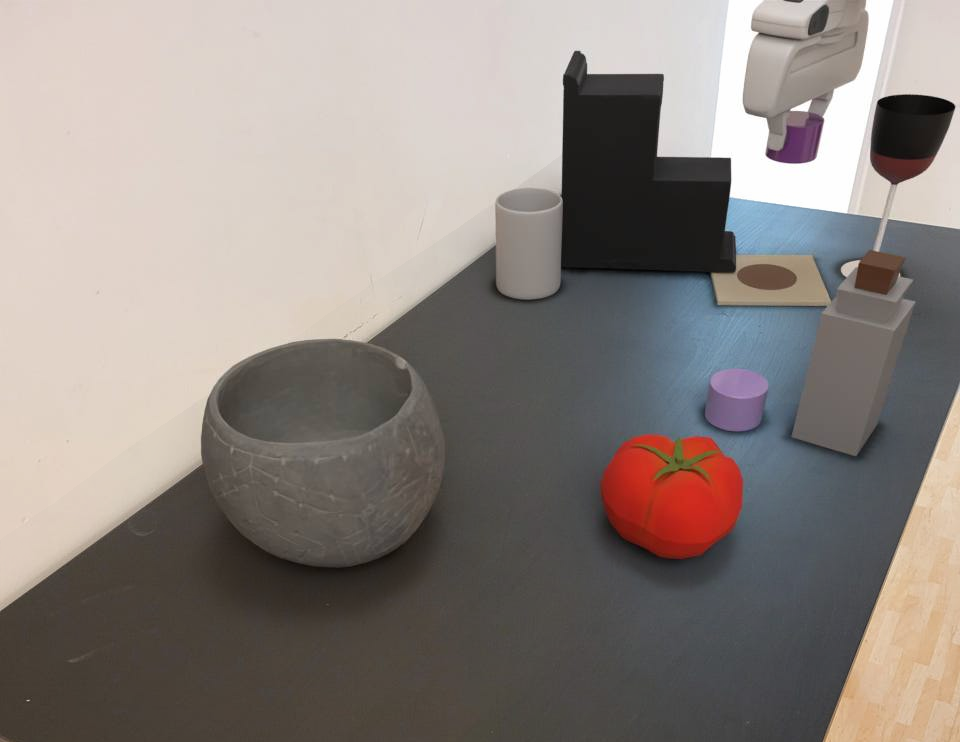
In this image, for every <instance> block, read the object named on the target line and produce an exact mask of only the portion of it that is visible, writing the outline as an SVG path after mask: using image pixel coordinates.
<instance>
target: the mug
mask: <svg viewBox="0 0 960 742" xmlns="http://www.w3.org/2000/svg"><path fill="white" fill-rule="evenodd" d="M494 206H495V207H494V208H495V209H494V211H495V214H494V215H495V217H494V218H495V219H494V220H495V286H496V288H497V290H498V292H499V293H500V294H502V295H503V296H505V297H507V298H510V299H516V300H521V301H522V300H525V301H531V300H532V301H533V300H540V299H545V298H547V297H550V296H552V295H554V294H556V293H557V292H558V291H559V289H560V287H561V281H562V267H561V245H562V215H563V200H562V198H561V195H560V194H559V193H557V192H555V191H553V190H550V189H545V188H539V187H522V188H514V189H510V190H507V191H504V192H503V193H501V194H499V195H498V196H497V197H496V199H495V203H494Z"/></svg>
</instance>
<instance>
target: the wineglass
mask: <svg viewBox="0 0 960 742" xmlns="http://www.w3.org/2000/svg"><path fill="white" fill-rule="evenodd" d="M875 105H876V106H875V109H874V115H873V120H872V127H871V136H870V147H869V148H870V149H869V161H870V165H871V167H872V168H873V170H874V171H875V172H876V173H877V174H878V175H879V176H881V177H882V178H883V179H885V180H886V181H888V182H889V183H890V187H889V190H888V194H887V197H886V201H885V205H884V209H883V212H882V216H881V220H880V224H879V228H878V230H877V235H876V239H875V242H874V245H873V249H872V250H873V251H878V252H880V250H881V246H882V244H883V243H882V242H883V239H884V235H885V232H886V228H887V224H888V221H889V217H890V213H891V210H892V206H893V204H894V203H893V202H894V198H895V195H896V191H897V188H898V185H899V184H900V183H903V182H905V181H909V180H912V179H914V178H917V177H918V176H920V175H922V174H923V173H924V172H926V171H927V170H928V169H929V167H931V165H932V164H933V162H934V160H935V159H936V157H937V155H938V153H939V151H940V149H941V147H942V145H943V142H944V141H945V138H946V135H947V134H948V131H949V129H950V126H951V123H952V120H953V116H954V114H955V111H956V106H957V105H956V104H955V103H953V102H952V101H950V100H949V99H946V98H941V97H938V96H933V95H925V94H914V93H913V94H911V93H910V94H907V93H906V94H903V93H902V94H892V95H887V96H884V97H880V98H879V99H878V100H877V102H876V104H875ZM861 260H862V259H858V260H852V261H848V262H846V263H844V264H842V266H841V267H840V272H841V274H842V275H843V276H844V277H846V278H847V277H848V276H849V274H850V273H851V272H852V271H853V270H854V269H855V268H856V267H858V264H859V262H860V261H861ZM899 277H901V272H900V273H899Z"/></svg>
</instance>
